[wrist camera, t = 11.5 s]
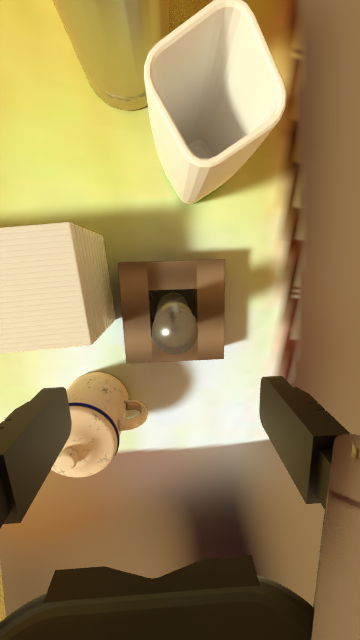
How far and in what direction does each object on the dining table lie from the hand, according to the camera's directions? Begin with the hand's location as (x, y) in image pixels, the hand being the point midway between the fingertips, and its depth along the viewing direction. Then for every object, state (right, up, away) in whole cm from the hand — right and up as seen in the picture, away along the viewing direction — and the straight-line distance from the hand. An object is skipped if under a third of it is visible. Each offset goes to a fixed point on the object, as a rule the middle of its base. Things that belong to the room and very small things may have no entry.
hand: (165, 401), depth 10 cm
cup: (+2, +21, +19) cm, 28 cm away
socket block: (0, +5, +23) cm, 23 cm away
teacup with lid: (-10, -8, +25) cm, 28 cm away
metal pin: (0, +5, +23) cm, 23 cm away
